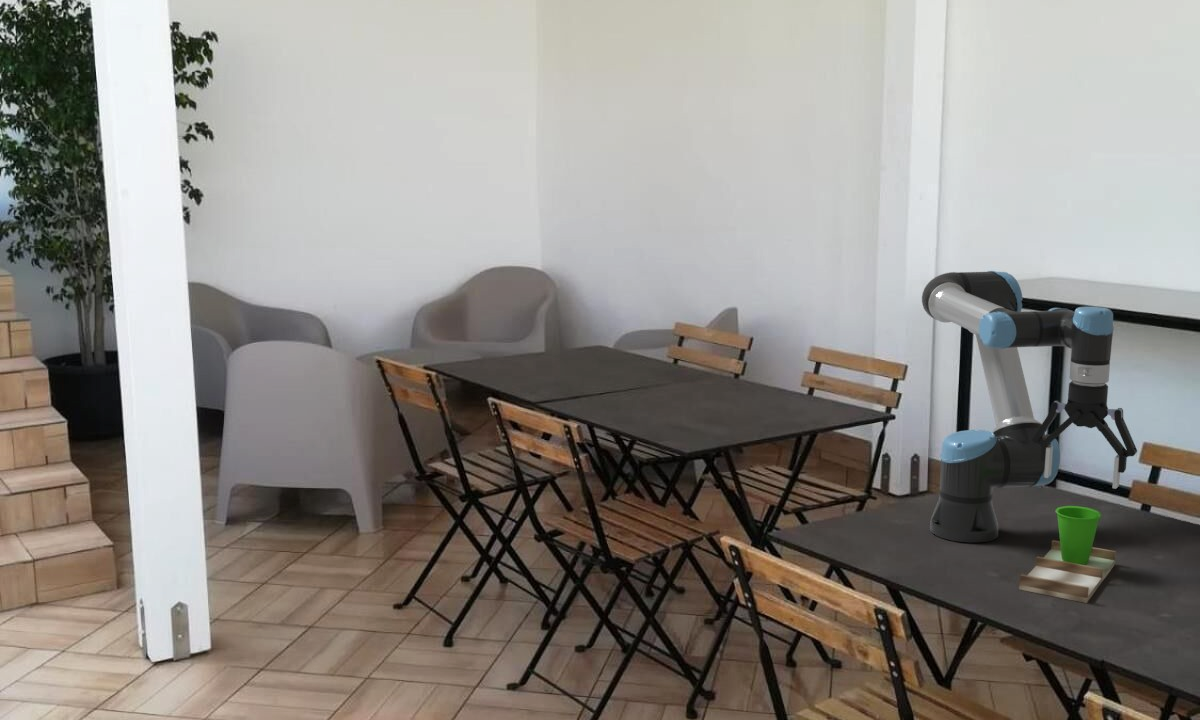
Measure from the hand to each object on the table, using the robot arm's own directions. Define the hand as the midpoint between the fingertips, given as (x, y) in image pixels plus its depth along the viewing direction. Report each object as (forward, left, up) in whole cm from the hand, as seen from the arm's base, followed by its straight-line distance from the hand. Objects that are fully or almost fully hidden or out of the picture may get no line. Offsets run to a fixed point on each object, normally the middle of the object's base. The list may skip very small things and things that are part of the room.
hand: (1081, 481), depth 252 cm
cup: (0, 0, -18) cm, 18 cm away
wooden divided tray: (0, -6, -19) cm, 20 cm away
